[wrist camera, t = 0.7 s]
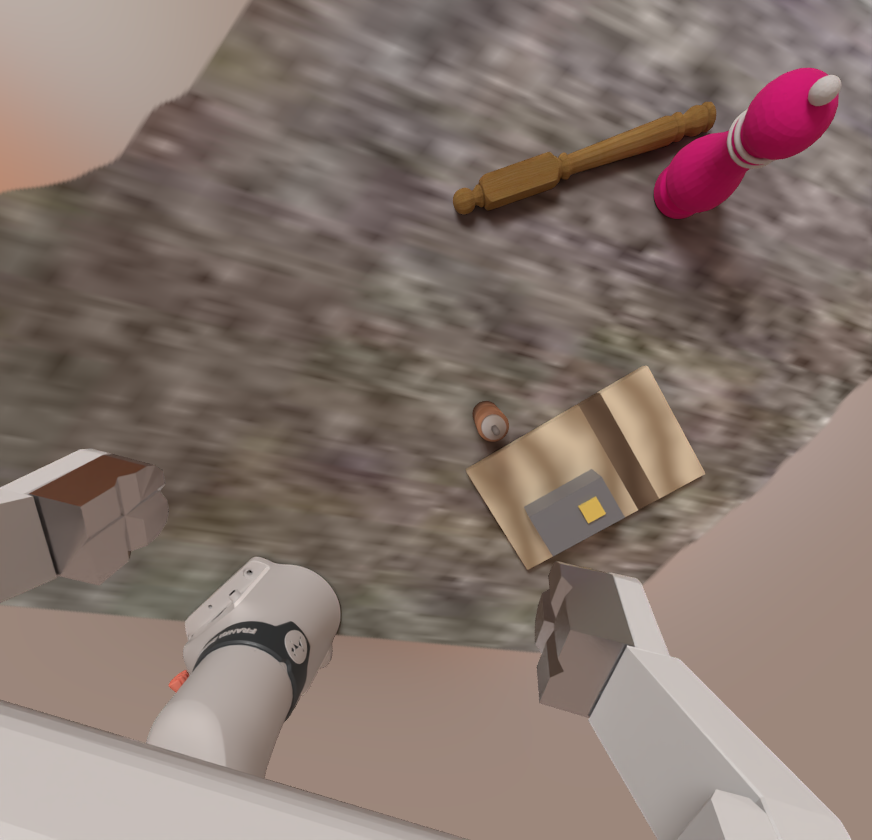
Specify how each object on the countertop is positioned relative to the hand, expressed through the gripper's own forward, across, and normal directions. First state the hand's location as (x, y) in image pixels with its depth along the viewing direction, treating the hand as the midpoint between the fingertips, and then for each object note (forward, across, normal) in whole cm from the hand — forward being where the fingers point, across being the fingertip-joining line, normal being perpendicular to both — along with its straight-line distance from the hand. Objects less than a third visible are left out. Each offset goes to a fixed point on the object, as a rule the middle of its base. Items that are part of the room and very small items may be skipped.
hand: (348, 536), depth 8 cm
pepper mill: (+53, +20, +14) cm, 59 cm away
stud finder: (+41, +17, -24) cm, 51 cm away
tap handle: (+53, +8, +15) cm, 55 cm away
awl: (+44, +4, -15) cm, 46 cm away
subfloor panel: (+44, +18, -20) cm, 51 cm away
